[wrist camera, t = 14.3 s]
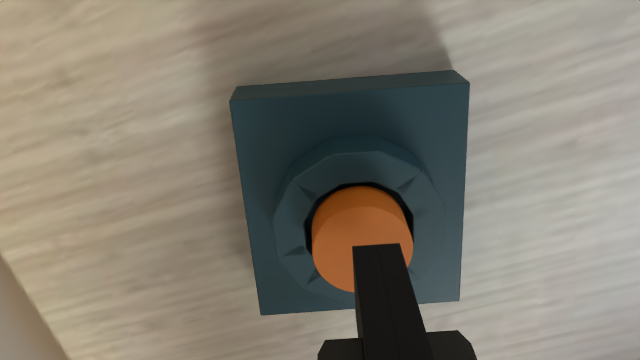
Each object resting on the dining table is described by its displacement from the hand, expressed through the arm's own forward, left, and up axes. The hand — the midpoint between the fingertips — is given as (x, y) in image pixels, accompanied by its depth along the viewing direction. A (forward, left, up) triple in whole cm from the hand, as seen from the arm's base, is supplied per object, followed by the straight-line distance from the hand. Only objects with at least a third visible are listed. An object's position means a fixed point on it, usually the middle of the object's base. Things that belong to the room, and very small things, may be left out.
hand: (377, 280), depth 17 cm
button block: (0, 0, -7) cm, 7 cm away
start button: (0, 0, -4) cm, 4 cm away
